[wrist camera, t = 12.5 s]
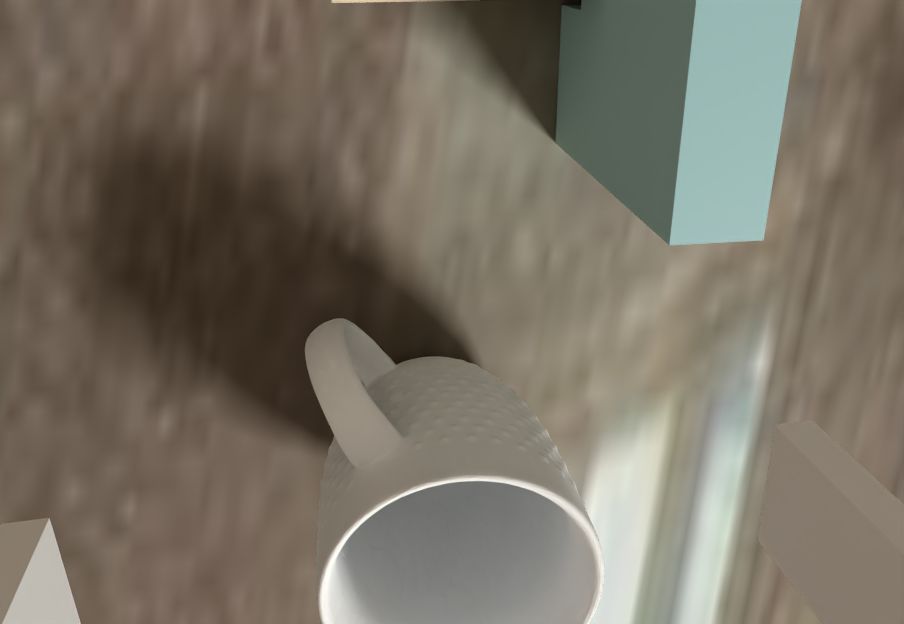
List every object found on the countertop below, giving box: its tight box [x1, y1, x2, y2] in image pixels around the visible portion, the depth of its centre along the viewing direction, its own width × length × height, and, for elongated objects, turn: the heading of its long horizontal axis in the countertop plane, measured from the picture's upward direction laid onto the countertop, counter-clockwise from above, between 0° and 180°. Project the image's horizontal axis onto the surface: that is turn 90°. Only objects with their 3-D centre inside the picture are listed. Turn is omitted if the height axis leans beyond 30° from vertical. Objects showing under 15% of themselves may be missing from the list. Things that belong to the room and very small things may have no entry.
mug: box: [305, 318, 604, 624], centre depth 36 cm, size 15×11×13 cm
